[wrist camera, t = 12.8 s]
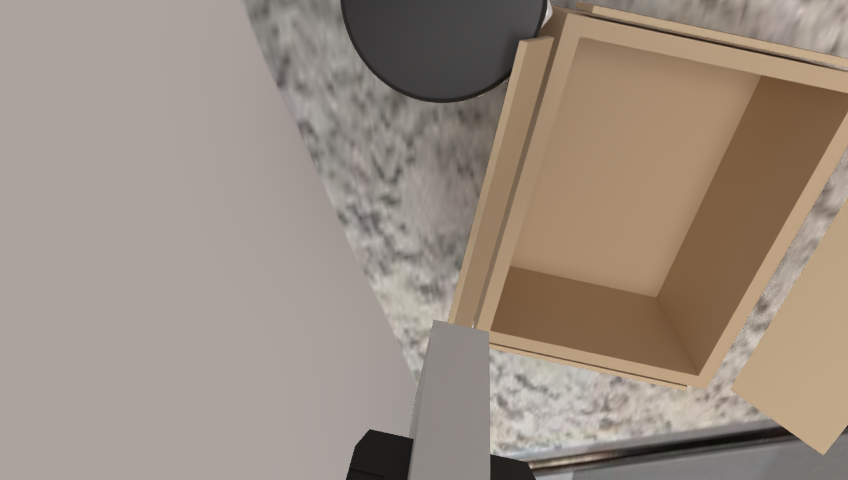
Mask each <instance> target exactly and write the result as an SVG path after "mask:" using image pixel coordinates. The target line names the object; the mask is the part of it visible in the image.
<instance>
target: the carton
mask: <svg viewBox="0 0 848 480" xmlns="http://www.w3.org/2000/svg"><path fill="white" fill-rule="evenodd" d="M551 7H552V16H551V18H550V19H549V20H548V21H547V22H546V24H545V25H544V26H543V27H542V28H541V32H540V35H538V37H544V36H550V37H554V40H553V43H552V47H551V50H550V54H549V58H548V61H547V65H546V68H545V72H544V75H543V79H542V82H541V86H540V89H539V93H538V96H537V100H536V103H535V107H534V110H533V114H532V117H531V121H530V124H529V128H528V131H527V135H526V138H525V142H524V145H523V149H522V152H521V156H520V159H519V163H518V166H517V170H516V173H515V177H514V180H513V184H512V187H511V191H510V195H509V198H508V202H507V205H506V209H505V212H504V216H503V219H502V223H501V226H500V230H499V233H498V237H497V240H496V244H495V247H494V251H493V254H492V258H491V261H490V265H489V268H488V272H487V275H486V279H485V282H484V286H483V289H482V293H481V296H480V300H479V303H478V307H477V310H476V314H475V317H474V329H479V330H483V331H488V332H489V348H491V349H496V350H500V351H505V352H510V353H514V354H519V355H523V356H528V357H533V358H537V359H542V360H546V361H551V362H556V363H560V364H565V365H569V366H574V367H579V368H583V369H588V370H592V371H597V372H602V373H606V374H611V375H615V376H620V377H625V378H629V379H634V380H638V381H643V382H648V383H652V384H657V385H661V386H666V387H671V388H675V389H680V390H684V391H685V390H686V389H687V385H689V386H693V387H698V388H703V389H707V387H708V385H709V383H710V382H711V380H712V378H713V377H714V375H715V373H716V371H717V370H718V368H719V366H720V365H721V363H722V361H723V359H724V358H725V356H726V354H727V353H728V351H729V349H730V347H731V346H732V344H733V342H734V341H735V339H736V337H737V335H738V334H739V332H740V330H741V329H742V327H743V325H744V323H745V322H746V320H747V318H748V317H749V315H750V313H751V311H752V310H753V308H754V306H755V305H756V303H757V301H758V299H759V298H760V296H761V294H762V293H763V291H764V289H765V287H766V286H767V284H768V282H769V281H770V279H771V277H772V275H773V274H774V272H775V270H776V268H777V267H778V265H779V263H780V262H781V260H782V258H783V256H784V255H785V253H786V251H787V250H788V248H789V246H790V244H791V243H792V241H793V239H794V238H795V236H796V234H797V232H798V231H799V229H800V227H801V226H802V224H803V222H804V220H805V219H806V217H807V215H808V214H809V212H810V210H811V208H812V207H813V205H814V203H815V202H816V200H817V198H818V196H819V195H820V193H821V191H822V190H823V188H824V186H825V184H826V183H827V181H828V179H829V178H830V176H831V174H832V172H833V171H834V169H835V167H836V166H837V164H838V162H839V160H840V159H841V157H842V155H843V154H844V152H845V150H846V148H847V147H848V71H847V70H843V69H839V68H835V67H831V66H827V65H824V64H820V63H816V62H812V61H808V60H804V59H800V58H797V57H802V58H807V59H811V60H816V61H821V62H826V63H830V64H835V65H840V66H844V67H848V59H846V58H841V57H837V56H833V55H828V54H824V53H819V52H815V51H810V50H806V49H801V48H796V47H791V46H787V45H782V44H777V43H773V42H768V41H763V40H758V39H754V38H749V37H744V36H740V35H735V34H730V33H725V32H721V31H716V30H711V29H706V28H702V27H697V26H692V25H688V24H683V23H678V22H673V21H669V20H664V19H659V18H654V17H650V16H645V15H640V14H636V13H631V12H626V11H621V10H617V9H612V8H607V7H603V6H598V5H593V4H588V3H584V2H579V1H578V2H577V6H576V8H578V9H581V10H584V11H587V12H583V11H578V10H573V9H569V8H564V7H559V6H555V5H551ZM588 12H590V13H588ZM592 13H594V14H592ZM597 14H599V15H597ZM602 15H604V16H602ZM606 16H608V17H606ZM611 17H613V18H611ZM616 18H618V19H616ZM621 19H623V20H621ZM625 20H627V21H625ZM630 21H632V22H630ZM635 22H637V23H635ZM639 23H641V24H639ZM644 24H646V25H644ZM649 25H651V26H649ZM654 26H656V27H654ZM658 27H660V28H658ZM663 28H665V29H663ZM668 29H670V30H668ZM673 30H675V31H673ZM677 31H679V32H677ZM682 32H684V33H682ZM687 33H689V34H687ZM691 34H693V35H691ZM696 35H698V36H696ZM701 36H703V37H701ZM706 37H708V38H706ZM710 38H712V39H710ZM715 39H717V40H715ZM720 40H722V41H720ZM724 41H726V42H724ZM729 42H731V43H729ZM734 43H736V44H734ZM739 44H741V45H739ZM743 45H745V46H743ZM748 46H750V47H748ZM753 47H755V48H753ZM757 48H759V49H757ZM762 49H764V50H762ZM767 50H769V51H767ZM772 51H774V52H772ZM776 52H778V53H776ZM781 53H783V54H781ZM785 54H788V55H785ZM789 55H793V56H797V57H793V56H789Z"/></svg>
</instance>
